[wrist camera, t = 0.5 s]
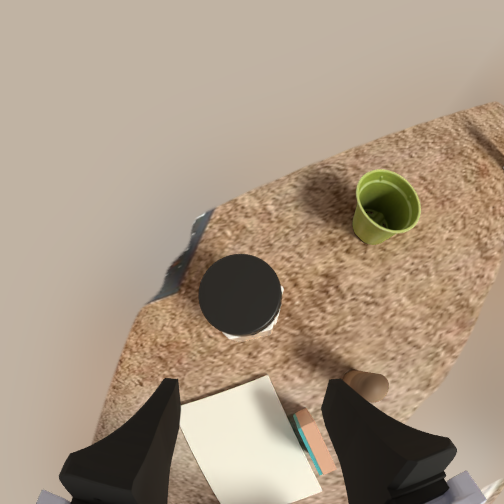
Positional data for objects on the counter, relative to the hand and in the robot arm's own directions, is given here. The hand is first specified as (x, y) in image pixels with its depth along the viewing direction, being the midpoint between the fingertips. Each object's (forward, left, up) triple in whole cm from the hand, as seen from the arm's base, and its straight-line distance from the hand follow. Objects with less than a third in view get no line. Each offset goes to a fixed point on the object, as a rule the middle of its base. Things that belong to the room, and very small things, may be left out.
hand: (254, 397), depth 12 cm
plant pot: (+12, -23, -25) cm, 36 cm away
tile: (-11, -2, -25) cm, 28 cm away
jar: (+8, -1, -25) cm, 27 cm away
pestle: (-7, -10, -25) cm, 28 cm away
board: (-11, +7, -25) cm, 28 cm away
